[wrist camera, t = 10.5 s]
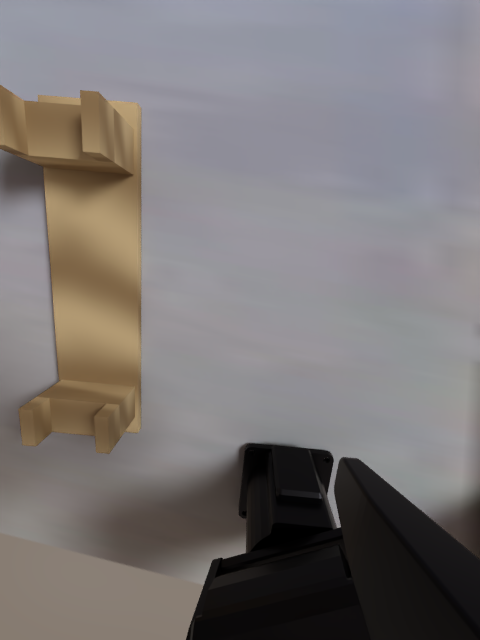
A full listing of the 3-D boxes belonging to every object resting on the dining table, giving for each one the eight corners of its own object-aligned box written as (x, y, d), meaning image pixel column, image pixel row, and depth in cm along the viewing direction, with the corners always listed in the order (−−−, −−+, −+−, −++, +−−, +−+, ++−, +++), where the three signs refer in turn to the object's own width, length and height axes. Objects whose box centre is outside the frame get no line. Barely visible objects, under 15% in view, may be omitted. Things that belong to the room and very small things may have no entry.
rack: (140, 427, 21) (113, 472, 17) (67, 420, 21) (21, 463, 17) (141, 108, 16) (101, 56, 12) (45, 100, 16) (-28, 46, 12)
